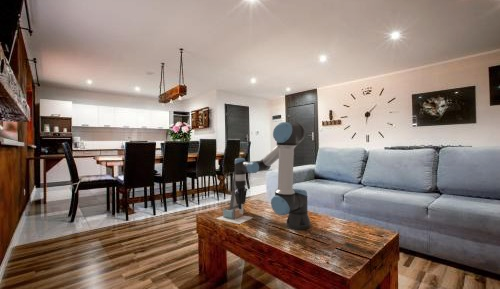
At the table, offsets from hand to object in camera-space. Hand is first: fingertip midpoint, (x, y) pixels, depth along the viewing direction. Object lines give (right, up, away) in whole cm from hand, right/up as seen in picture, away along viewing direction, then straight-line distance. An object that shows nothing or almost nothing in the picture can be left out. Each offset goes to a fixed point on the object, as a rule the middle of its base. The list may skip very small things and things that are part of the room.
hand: (241, 213), depth 168 cm
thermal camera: (-5, -4, +18) cm, 19 cm away
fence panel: (-2, -3, +1) cm, 3 cm away
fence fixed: (-9, -3, -1) cm, 9 cm away
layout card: (-5, -3, -1) cm, 6 cm away
